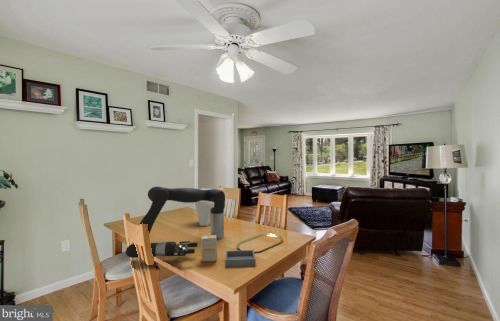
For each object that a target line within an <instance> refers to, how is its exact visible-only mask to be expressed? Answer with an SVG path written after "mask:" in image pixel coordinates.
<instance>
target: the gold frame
mask: <svg viewBox="0 0 500 321" xmlns="http://www.w3.org/2000/svg"><path fill="white" fill-rule="evenodd" d="M264 237H273V238H277V239H279V240H280V241H279V242H277V243H274V244H273V245H271V246H270V245H269V246H268V247H266V248H263V249H261V250H256V251H255V250H254V254H255V253H260V252H263V251H265V250H268V249H271V248H272V247H275V246H277V245H279V244H281V243H282V242H283V237H282V236H281V235H278V234H275V233H261V234H258V235H255V236H253V237H250V238H247V239H245V240H242V241H241V240H240V242H238V243H237V244H236V248H237V250H241V248H240V246H242V245H244V244H246V242H247V243H249V242H251V241H253V240H257V239H260V238H264ZM241 244H242V245H241ZM239 248H240V249H239Z"/></svg>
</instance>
